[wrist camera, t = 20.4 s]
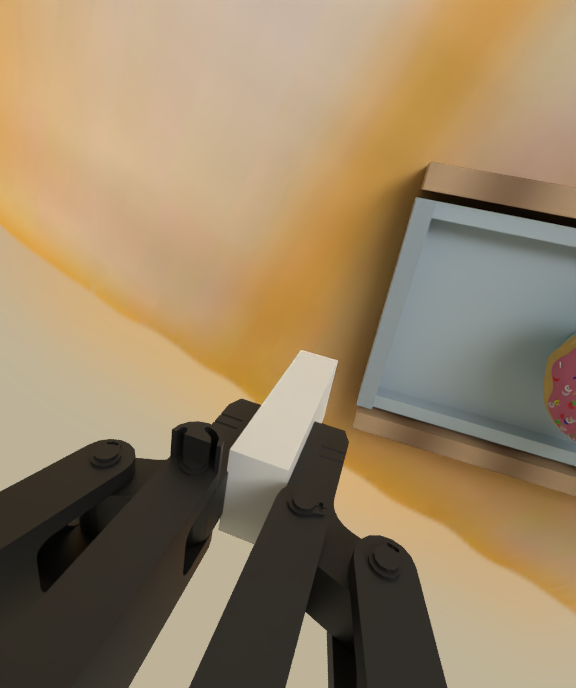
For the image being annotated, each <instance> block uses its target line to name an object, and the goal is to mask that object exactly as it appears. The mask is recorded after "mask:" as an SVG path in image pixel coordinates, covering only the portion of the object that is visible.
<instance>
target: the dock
mask: <svg viewBox="0 0 576 688" xmlns="http://www.w3.org/2000/svg"><path fill="white" fill-rule="evenodd" d="M420 190H426V191H431V192H436V193H441V194H446V195H452V196H457V197H462V198H467V199H473V200H478V201H483V202H488V203H494V204H499V205H504V206H509V207H515V208H520V209H525V210H530V211H535V212H541V213H546V214H551V215H556V216H562V217H567V218H572V219H576V188H575V187H570V186H564V185H559V184H553V183H547V182H542V181H536V180H530V179H525V178H519V177H514V176H508V175H502V174H497V173H491V172H485V171H480V170H474V169H469V168H463V167H457V166H452V165H446V164H440V163H435V162H430V163H429V164H428V166H427V169H426V172H425V176H424V179H423V183H422V186H421V189H420ZM352 428H355V429H358V430H361V431H364V432H368V433H371V434H374V435H377V436H381V437H384V438H387V439H390V440H393V441H397V442H400V443H403V444H406V445H410V446H413V447H416V448H419V449H423V450H426V451H429V452H432V453H436V454H439V455H442V456H445V457H449V458H452V459H455V460H458V461H462V462H465V463H468V464H471V465H475V466H478V467H481V468H484V469H487V470H491V471H494V472H497V473H500V474H504V475H507V476H510V477H513V478H517V479H520V480H523V481H526V482H530V483H533V484H536V485H539V486H543V487H546V488H549V489H552V490H556V491H559V492H562V493H565V494H569V495H572V496H575V497H576V466H573V465H569V464H566V463H563V462H559V461H556V460H552V459H549V458H546V457H542V456H539V455H536V454H532V453H529V452H525V451H522V450H519V449H515V448H512V447H508V446H505V445H502V444H498V443H495V442H492V441H488V440H485V439H481V438H478V437H475V436H471V435H468V434H465V433H461V432H458V431H454V430H451V429H448V428H444V427H441V426H437V425H434V424H431V423H427V422H424V421H421V420H417V419H414V418H410V417H407V416H404V415H400V414H397V413H393V412H390V411H387V410H383V409H380V408H377V407H372V409H368V408H365V407H362V406H358V405H357V408H356V413H355V417H354V422H353V427H352Z"/></svg>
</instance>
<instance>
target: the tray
mask: <svg viewBox="0 0 576 688" xmlns="http://www.w3.org/2000/svg"><path fill="white" fill-rule="evenodd" d="M575 333H576V228H573V227H568V226H563V225H558V224H553V223H547V222H542V221H537V220H532V219H527V218H522V217H517V216H512V215H506V214H501V213H496V212H491V211H486V210H481V209H476V208H470V207H465V206H460V205H455V204H450V203H445V202H440V201H435V200H429V199H424V198H419V197H415V200H414V203H413V207H412V210H411V214H410V217H409V221H408V224H407V227H406V231H405V234H404V238H403V241H402V245H401V248H400V251H399V255H398V258H397V262H396V265H395V269H394V272H393V276H392V279H391V282H390V286H389V289H388V293H387V296H386V300H385V303H384V307H383V310H382V313H381V317H380V320H379V324H378V327H377V331H376V334H375V337H374V341H373V344H372V348H371V351H370V355H369V358H368V362H367V365H366V368H365V372H364V375H363V379H362V382H361V386H360V390H359V394H358V399H357V403H356V405H358V406H362V407H365V408H368V409H372V407H377V408H380V409H383V410H387V411H390V412H393V413H397V414H400V415H404V416H407V417H410V418H414V419H417V420H421V421H424V422H427V423H431V424H434V425H437V426H441V427H444V428H448V429H451V430H454V431H458V432H461V433H465V434H468V435H471V436H475V437H478V438H481V439H485V440H488V441H492V442H495V443H498V444H502V445H505V446H508V447H512V448H515V449H519V450H522V451H525V452H529V453H532V454H536V455H539V456H542V457H546V458H549V459H552V460H556V461H559V462H563V463H566V464H569V465H573V466H576V443H575V442H573V440H572V439H569V438H568V437H567V435H566V434H564V433H563V432H562V431H561V430H560V429H559V428H558V427H557V426H556V424H555V423H554V422H553V420H552V419H551V417H550V415H549V414H548V412H547V409H546V406H545V403H544V398H543V382H544V376H545V370H546V363H547V359H548V357H549V356H550V355H551V354H552V353H553V352H554V351H555V350H556V349H557V348H559V347H560V346H561V345H562V344H563V343H564V342H565V341H566V340H567V339H568V338H569V337H570V336H572V335H573V334H575Z"/></svg>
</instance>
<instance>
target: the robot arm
mask: <svg viewBox="0 0 576 688" xmlns="http://www.w3.org/2000/svg"><path fill="white" fill-rule="evenodd" d="M337 364H338V360H335V359H331V358H328V357H324V356H321V355H317V354H314V353H310V352H307V351H303V350H301V351H300V352H299V353H298V355H297V356H296V358H295V359H294V360H293V362H292V363H291V365H290V366H289V367H288V369H287V370H286V372H285V373H284V374H283V376H282V377H281V379H280V380H279V381H278V383H277V384H276V386H275V387H274V388H273V390H272V391H271V393H270V394H269V395H268V397H267V398H266V400H265V401H264V402H263V404H262V405H260V404H256V403H253V402H250V401H247V400H244V399H240V400H238V401H235V402H233V403H231V404H229V405H228V406H227V407H226V409H225V410H224V411H223V412H222V414H221V415H220V416H219V417H218V418H217V419H216V420H215V422H213V424H212V425H211V424H209V423H204V422H187V423H184V424H180V425H178V426H177V427H175V428H174V429H172V440H171V456H170V457H169V458H168V459H167V460H152V459H142V458H135V450H134V448H133V447H132V446H131V445H130V444H129V443H126V442H124V441H122V440H114V439H108V440H100V441H97V442H94V443H92V444H89V445H87V446H85V447H84V448H82V449H80V450H78V451H76V452H74V453H72V454H70V455H68V456H66V457H65V458H63V459H61V460H59V461H57V462H56V463H53V464H51V465H50V466H48V467H46V468H44V469H42V470H40V471H38V472H36V473H34V474H33V475H31V476H29V477H27V478H25V479H23V480H21V481H20V482H18V483H16V484H14V485H12V486H10V487H8V488H6V489H4V490H2V491H1V492H0V688H128V687H129V685H130V684H131V682H132V680H133V679H134V677H135V675H136V673H137V672H138V670H139V668H140V666H141V665H142V663H143V661H144V659H145V657H146V656H147V654H148V652H149V651H150V649H151V647H152V645H153V644H154V642H155V640H156V638H157V637H158V635H159V633H160V631H161V630H162V628H163V626H164V624H165V623H166V621H167V619H168V618H169V616H170V614H171V612H172V610H173V609H174V607H175V605H176V603H177V601H178V600H179V598H180V597H181V595H182V593H183V591H184V590H185V588H186V586H187V584H188V582H189V581H190V579H191V577H192V576H193V574H194V572H195V570H196V569H197V567H198V565H199V563H200V562H201V560H202V558H203V556H204V555H205V553H206V551H207V549H208V548H209V545H210V542H211V537H212V530H213V529H214V527H215V525H216V523H217V522H218V520H219V518H220V525H219V530H220V531H223V532H225V533H228V534H230V535H233V536H236V537H238V538H240V539H243V540H245V541H248V542H250V543H253V544H254V547H253V549H252V551H251V553H250V555H249V558H248V560H247V562H246V564H245V566H244V568H243V571H242V573H241V575H240V577H239V579H238V582H237V584H236V586H235V588H234V590H233V592H232V595H231V597H230V599H229V601H228V603H227V606H226V608H225V610H224V612H223V615H222V617H221V619H220V621H219V623H218V625H217V628H216V630H215V632H214V634H213V636H212V638H211V641H210V643H209V645H208V647H207V650H206V652H205V654H204V656H203V658H202V660H201V663H200V665H199V667H198V669H197V671H196V674H195V676H194V678H193V680H192V682H191V685H190V687H189V688H285V687H286V683H287V679H288V675H289V672H290V668H291V664H292V660H293V656H294V653H295V648H296V645H297V641H298V637H299V633H300V630H301V626H302V622H303V618H304V614H305V612H306V613H308V614H309V615H310V616H311V617H312V618H313V619H314V620H315V621H317V622H318V623H319V624H320V625H321V626H322V627H323V628H324V629H326V630H327V655H328V688H447V684H446V681H445V677H444V673H443V669H442V666H441V661H440V658H439V654H438V650H437V646H436V642H435V639H434V634H433V631H432V627H431V623H430V619H429V615H428V612H427V608H426V604H425V600H424V596H423V592H422V588H421V584H420V580H419V577H418V573H417V569H416V566H415V564H414V562H413V560H412V558H411V556H410V555H409V554H408V553H407V551H406V550H405V549H404V548H403V547H402V546H401V545H399V544H398V543H396V542H395V541H393V540H391V539H389V538H386V537H383V536H371V535H370V536H367V537H365V538H363V539H361V538H359V537H358V536H356V535H355V534H353V533H352V532H351V531H349V530H348V529H347V528H346V527H345V526H344V525H343V524H342V523H341V521H340V520H339V519H338V517H337V515H336V513H335V510H334V497H335V494H336V490H337V485H338V482H339V478H340V474H341V471H342V467H343V463H344V459H345V455H346V451H347V448H348V444H349V442H348V439H347V436H346V433H345V431H343V430H340V429H337V428H334V427H331V426H328V425H325V424H322V421H323V419H324V415H325V411H326V407H327V403H328V399H329V395H330V391H331V387H332V383H333V379H334V375H335V371H336V367H337Z"/></svg>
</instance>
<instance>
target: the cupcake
mask: <svg viewBox="0 0 576 688" xmlns="http://www.w3.org/2000/svg"><path fill="white" fill-rule="evenodd" d="M543 398H544V403H545V406H546V409H547V412H548V414H549V415H550V417H551V419H552V420H553V422H554V423H555V424H556V426H557V427H558V428H559V429H560V430H561V431H562V432H563V433H564V434H566V435H567V437H568V438H569V439H572V440H573V442H575V443H576V333H575V334H573V335H572V336H570V337H569V338H568V339H567V340H566V341H565V342H564V343H563V344H562V345H561V346H560V347H559V348H557V349H556V350H555V351H554V352H553V353H552V354H551V355H550V356H549V357H548V359H547V363H546V370H545V376H544V382H543Z"/></svg>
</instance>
